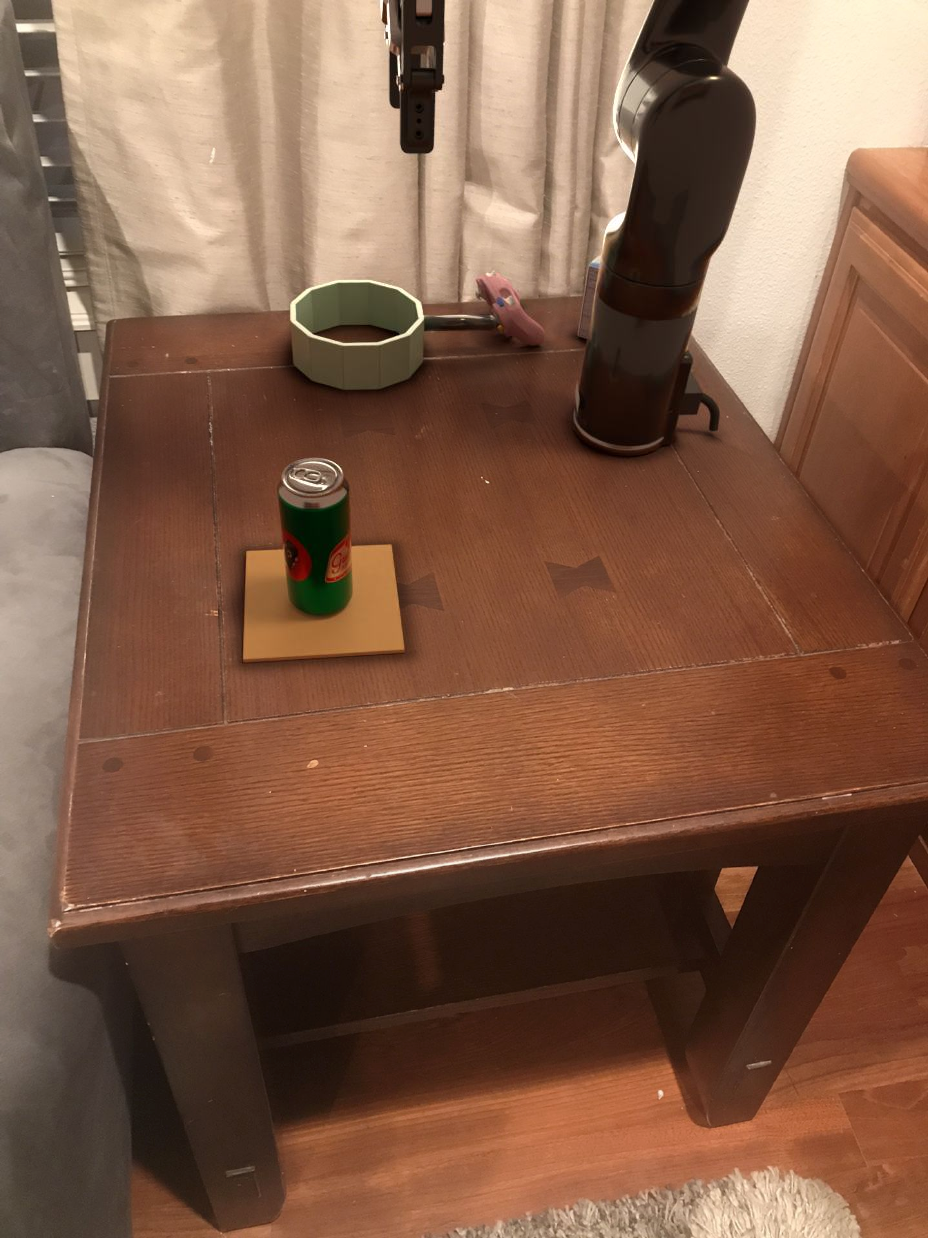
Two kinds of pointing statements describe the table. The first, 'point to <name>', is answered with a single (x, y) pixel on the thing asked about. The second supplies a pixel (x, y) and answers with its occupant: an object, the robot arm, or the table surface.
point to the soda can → (316, 535)
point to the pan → (366, 307)
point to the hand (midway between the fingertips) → (410, 128)
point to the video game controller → (508, 309)
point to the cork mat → (346, 632)
